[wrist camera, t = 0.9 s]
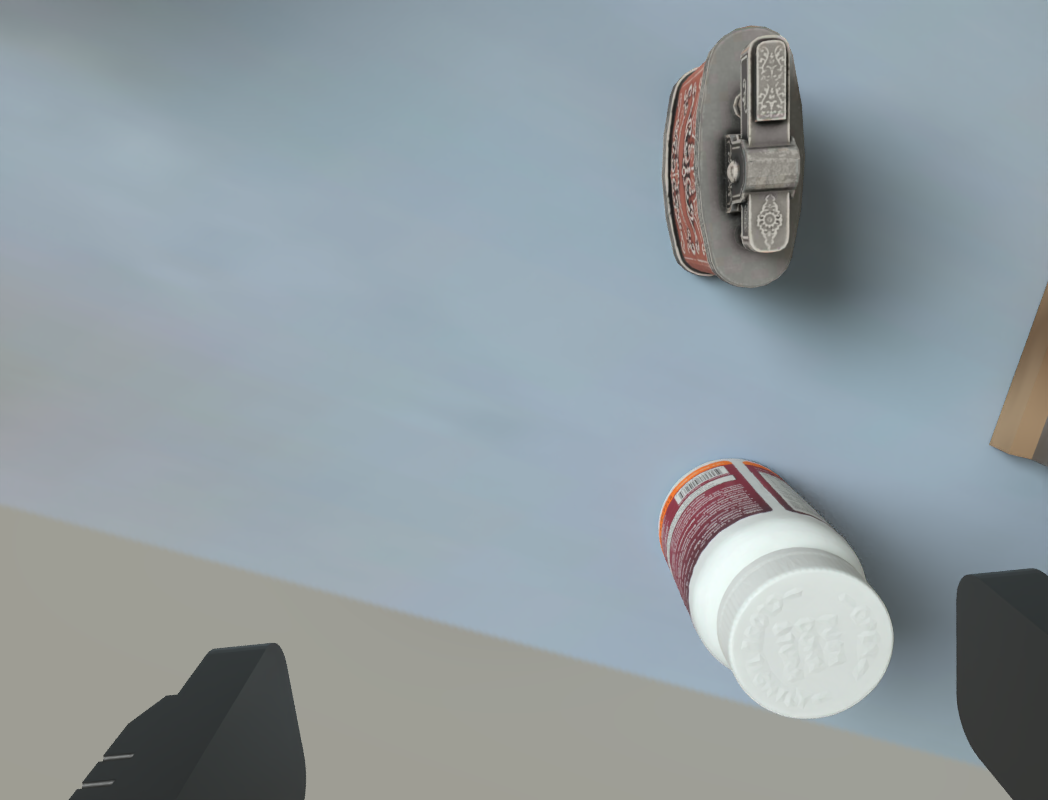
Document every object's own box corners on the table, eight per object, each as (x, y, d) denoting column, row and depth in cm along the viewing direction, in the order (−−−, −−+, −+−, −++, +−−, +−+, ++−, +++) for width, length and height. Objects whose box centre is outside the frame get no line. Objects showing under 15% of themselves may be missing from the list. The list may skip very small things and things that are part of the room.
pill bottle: (648, 581, 38) (698, 729, 27) (664, 448, 36) (724, 545, 25) (785, 592, 38) (892, 744, 27) (806, 460, 37) (927, 562, 26)
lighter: (746, 272, 35) (831, 290, 25) (664, 277, 35) (717, 297, 25) (744, 66, 33) (835, 0, 24) (659, 72, 33) (713, 8, 24)
